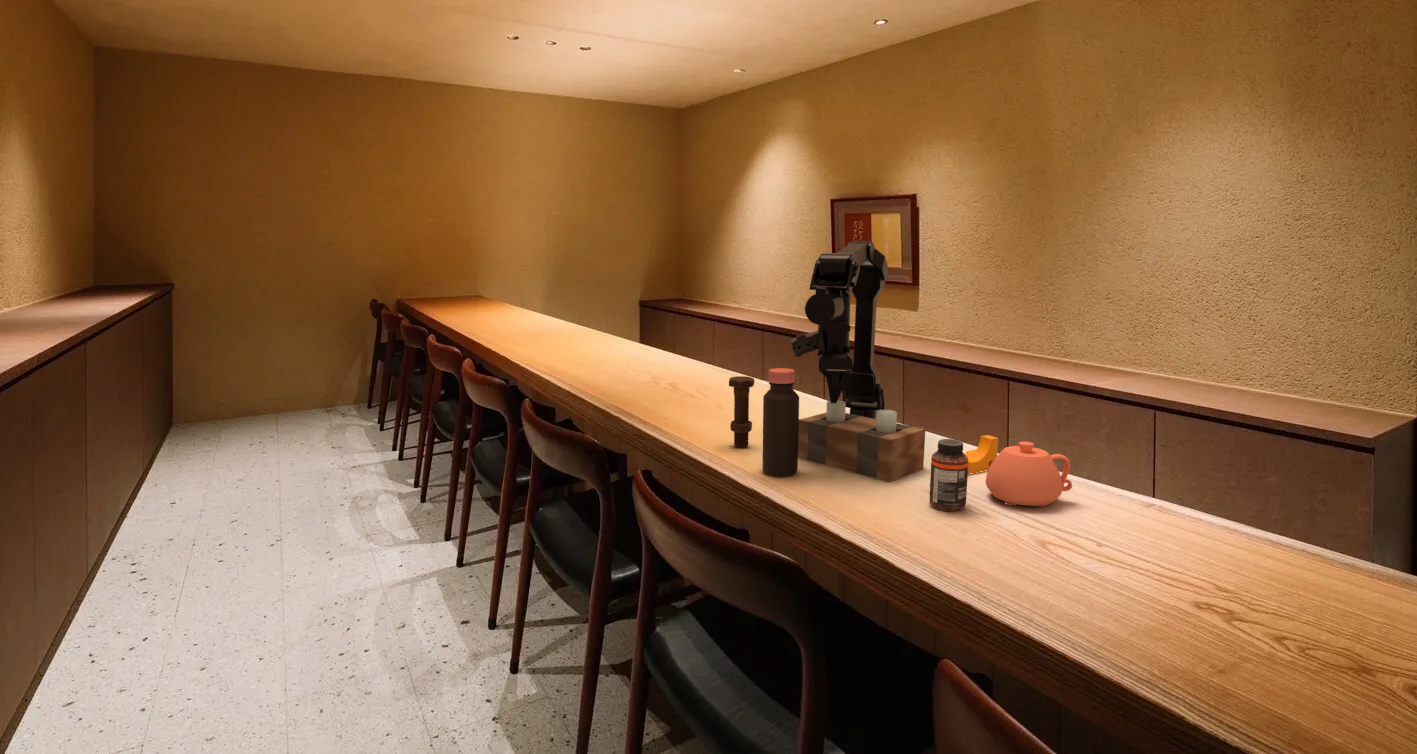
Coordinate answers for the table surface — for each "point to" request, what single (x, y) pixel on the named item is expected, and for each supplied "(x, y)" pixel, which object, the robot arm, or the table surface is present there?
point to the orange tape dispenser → (982, 454)
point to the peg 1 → (836, 411)
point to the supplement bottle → (949, 476)
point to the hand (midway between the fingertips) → (832, 398)
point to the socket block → (861, 446)
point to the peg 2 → (886, 421)
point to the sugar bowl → (1027, 476)
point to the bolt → (741, 409)
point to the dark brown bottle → (780, 424)
